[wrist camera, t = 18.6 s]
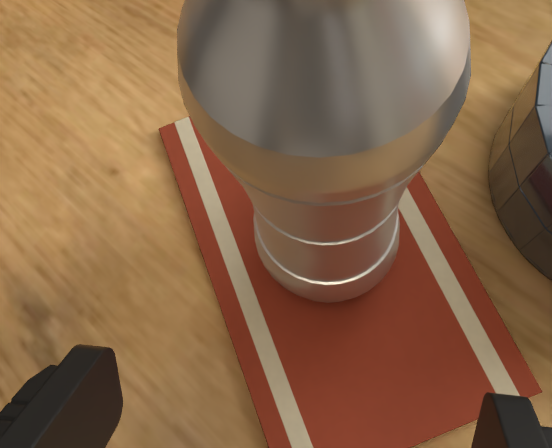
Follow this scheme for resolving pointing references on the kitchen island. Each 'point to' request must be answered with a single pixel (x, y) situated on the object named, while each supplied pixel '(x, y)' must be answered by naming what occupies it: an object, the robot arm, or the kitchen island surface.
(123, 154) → the kitchen island surface
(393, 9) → the metal water bottle
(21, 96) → the kitchen island surface
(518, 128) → the pot
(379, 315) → the towel
